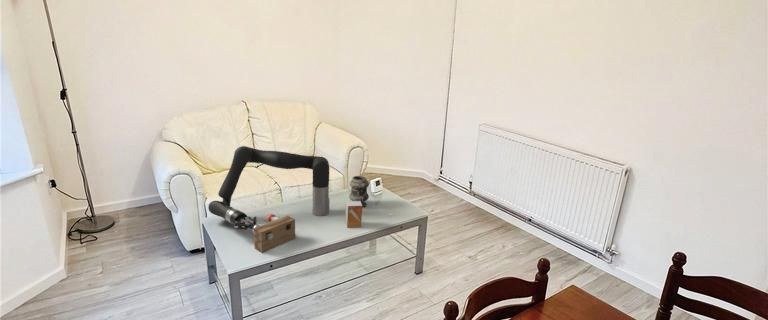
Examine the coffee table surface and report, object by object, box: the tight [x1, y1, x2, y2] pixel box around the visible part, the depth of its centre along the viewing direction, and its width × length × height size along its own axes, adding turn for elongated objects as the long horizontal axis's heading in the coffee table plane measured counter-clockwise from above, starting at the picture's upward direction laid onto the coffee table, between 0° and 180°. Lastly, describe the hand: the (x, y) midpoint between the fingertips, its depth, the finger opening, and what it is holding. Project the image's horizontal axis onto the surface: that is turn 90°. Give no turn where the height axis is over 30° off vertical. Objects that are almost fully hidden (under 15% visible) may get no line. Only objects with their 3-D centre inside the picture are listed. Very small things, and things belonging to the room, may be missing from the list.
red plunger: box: [266, 213, 287, 227], centre depth 214 cm, size 12×4×4 cm, turn 51°
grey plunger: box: [251, 223, 273, 240], centre depth 202 cm, size 12×4×4 cm, turn 51°
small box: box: [345, 200, 363, 228], centre depth 230 cm, size 8×6×13 cm
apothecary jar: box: [348, 175, 370, 209], centre depth 256 cm, size 12×12×18 cm
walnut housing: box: [253, 215, 296, 254], centre depth 207 cm, size 6×20×11 cm, turn 141°
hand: (255, 228), depth 205 cm, fingers closed
